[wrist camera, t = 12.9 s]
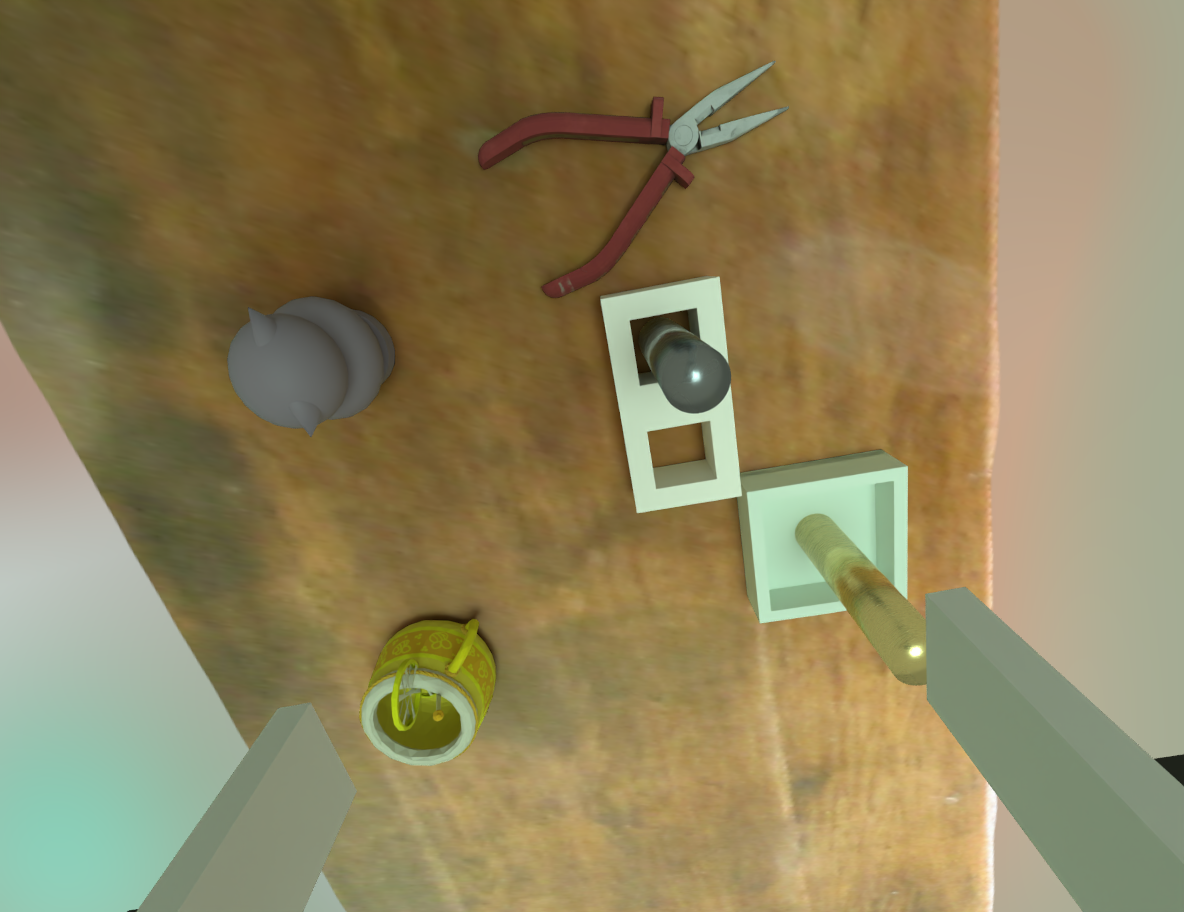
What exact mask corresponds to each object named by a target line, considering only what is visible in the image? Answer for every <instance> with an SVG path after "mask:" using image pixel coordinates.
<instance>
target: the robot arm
mask: <svg viewBox="0 0 1184 912" xmlns="http://www.w3.org/2000/svg"><path fill="white" fill-rule="evenodd" d="M925 595H926V669H927V700H928V702H929V703H930V704H931V706H932V707H933V708H934V710H935V711H936V713H937V714H938V715H939V717H940V718H941V719H942V721H943V722H944V723H945V725H946V726H947V728H948V729H949V730H950V732H951V733H952V734H953V736H954V737H955V738H956V740H957V741H958V743H959V744H960V745H961V747H962V748H963V749H964V751H965V752H966V753H967V755H968V756H969V757H970V759H971V760H972V762H973V763H974V764H975V766H976V767H977V768H978V770H979V771H980V772H981V774H982V775H983V777H984V778H985V779H986V781H987V782H988V783H989V785H990V786H991V787H992V789H993V790H994V791H995V793H996V794H997V796H998V797H999V798H1000V800H1001V801H1002V802H1003V804H1004V805H1005V806H1006V808H1007V809H1008V810H1009V812H1010V813H1011V815H1012V816H1013V817H1014V819H1015V820H1016V821H1017V823H1018V824H1019V825H1020V827H1021V828H1022V830H1023V831H1024V832H1025V834H1026V835H1027V836H1028V838H1029V839H1030V840H1031V842H1032V843H1033V844H1034V846H1035V847H1036V849H1037V850H1038V851H1039V853H1040V854H1041V855H1042V857H1043V858H1044V859H1045V861H1046V862H1047V864H1048V865H1049V866H1050V868H1051V869H1052V870H1053V872H1054V873H1055V874H1056V876H1057V877H1058V879H1059V880H1060V881H1061V883H1062V884H1063V885H1064V887H1065V888H1066V889H1067V891H1068V892H1069V894H1070V895H1071V896H1072V898H1073V899H1074V900H1075V902H1076V903H1077V904H1078V906H1079V907H1080V908H1081V910H1082V911H1083V912H1184V755H1177V756H1171V757H1164V758H1157V759H1153V758H1152V757H1151V756H1150V755H1149V754H1148V753H1147V752H1146V751H1144V750H1143V749H1142V748H1141V747H1140V746H1139V745H1138V744H1137V743H1136V742H1135V741H1134V740H1132V739H1131V738H1130V737H1129V736H1128V735H1127V734H1126V733H1125V732H1124V731H1122V730H1121V729H1120V728H1119V727H1118V726H1117V725H1116V724H1115V723H1114V722H1113V721H1112V720H1111V719H1109V718H1108V717H1107V716H1106V715H1105V714H1104V713H1103V712H1102V711H1101V710H1100V709H1098V708H1097V707H1096V706H1095V705H1094V704H1093V703H1092V702H1091V701H1090V700H1089V699H1088V698H1086V697H1085V696H1084V695H1083V694H1082V693H1081V692H1080V691H1079V690H1078V689H1077V688H1075V687H1074V686H1073V685H1072V684H1071V683H1070V682H1069V681H1068V680H1067V679H1066V678H1065V677H1063V676H1062V675H1061V674H1060V673H1059V672H1058V671H1057V670H1056V669H1055V668H1053V667H1052V666H1051V665H1050V664H1049V663H1048V662H1047V661H1046V660H1045V659H1044V658H1042V656H1040V655H1039V654H1038V653H1037V652H1036V651H1035V650H1034V649H1033V648H1032V647H1030V646H1029V645H1028V644H1027V643H1026V642H1025V641H1024V640H1023V639H1022V638H1021V637H1020V636H1019V635H1017V634H1016V633H1015V632H1014V631H1013V630H1012V629H1011V628H1010V627H1009V626H1008V625H1006V624H1005V623H1004V622H1003V621H1002V620H1001V619H1000V618H999V617H998V616H996V614H994V613H993V612H992V611H991V610H990V609H989V608H988V607H987V606H986V605H985V604H983V603H982V602H981V601H980V600H979V599H978V598H977V597H976V596H975V595H974V594H973V593H971V592H970V591H969V590H968V589H967V588H966V587H962V588H957V589H951V590H945V591H940V592H934V593H928V594H925ZM356 792H357V790H356V788H355V787H354V785H353V783H352V781H351V779H350V777H349V775H348V773H347V771H346V769H345V767H344V766H343V764H342V762H341V760H340V758H339V756H338V754H337V752H336V750H335V748H334V746H333V745H332V743H331V741H330V739H329V737H328V735H327V733H326V731H325V729H324V727H323V725H322V723H321V722H320V720H319V718H318V716H317V714H316V712H315V710H314V708H313V706H312V704H311V703H305V704H300V705H294V706H288V707H283V708H278V709H277V711H276V712H275V714H274V715H273V717H272V718H271V719H270V721H269V722H268V724H267V725H266V727H265V728H264V729H263V731H262V732H261V734H260V735H259V737H258V738H257V739H256V741H255V742H254V744H253V745H252V747H251V748H250V750H249V751H248V752H247V754H246V755H245V757H244V758H243V760H242V761H241V762H240V764H239V765H238V767H237V768H236V770H235V771H234V772H233V774H232V775H231V777H230V778H229V780H228V781H227V783H226V784H225V785H224V787H223V788H222V790H221V791H220V793H219V794H218V796H217V797H216V798H215V800H214V801H213V803H212V804H211V805H210V807H209V808H208V810H207V811H206V813H205V814H204V816H203V817H202V818H201V820H200V821H199V823H198V824H197V826H196V827H195V828H194V830H193V831H192V833H191V834H190V836H189V837H188V838H187V840H186V842H185V843H184V844H183V846H182V847H181V848H180V850H179V851H178V853H177V854H176V856H175V857H174V859H173V860H172V861H171V863H170V864H169V866H168V867H167V869H166V870H165V871H164V873H163V875H162V876H161V877H160V879H159V880H158V881H157V883H156V885H155V886H154V887H153V889H152V890H151V892H150V893H149V894H148V896H147V897H146V899H145V900H144V902H143V903H142V904H141V906H140V907H139V909H136V910H129V911H127V912H303V911H304V908H305V906H306V904H307V902H308V900H309V897H310V895H311V892H312V891H313V888H314V886H315V884H316V882H317V879H318V877H319V875H320V873H321V870H322V868H323V866H324V864H325V861H326V859H327V857H328V855H329V852H330V850H331V848H332V846H333V843H334V841H335V839H336V837H337V834H338V832H339V830H340V828H341V825H342V823H343V821H344V819H345V816H346V814H347V812H348V810H349V807H350V805H351V803H352V801H353V798H354V796H355V794H356Z"/></svg>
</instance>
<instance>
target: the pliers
mask: <svg viewBox="0 0 1184 912" xmlns="http://www.w3.org/2000/svg"><path fill="white" fill-rule="evenodd" d="M774 63H775V61H773V62H771V63H769V64H767V65H765V66H762V67H760V68H758V69H756V70H754V71H752V72H750V73H748V74H746V75H744V76H742V77H740V78H738V79H736V80H734V81H732V82H730V83H728V84H726V85H724V86H722V87H720V88H718V89H716V90H714V91H713V92H712V93H710V94H709V95H708V96H707V97H705V98H704V99H703V100H701V101H700V102H699V103H698V104H696V105H695V106H694V107H693V108H691V109H690V110H689V111H688V112H687V113H685V114H684V115H683V116H682V117H681V118H679V119H678V120H677V121H676V122H675V123H673V124H672V125H670V119H662V115H663V102H664V98H663V97H653V100H652V104H651V116H650V118H644V117H628V116H613V115H598V114H582V113H567V112H551V113H541V114H535V115H531V116H528V117H525V118H522V119H521V120H519V121H518V122H516V123H514V124H513V125H511V126H510V127H508V128H507V129H505V130H504V131H502V132H501V133H499V134H497V135H496V136H494V137H493V138H491V139H490V140H488V141H486V142H485V143H484V144H483V145H482V147H481V148H480V150H479V154H478V159H479V163H480V165H481V167H482V168H483V169H488V168H490V167H491V166H493V165H495V164H496V163H498V162H500V161H501V160H503V159H505V158H506V157H508V156H510V155H511V154H513V153H515V152H516V151H518V150H519V149H521V148H523V147H524V146H527V145H529V144H531V143H534V142H537V141H540V140H545V139H554V138H565V139H581V140H596V141H611V142H626V143H641V144H659V145H665V144H666V146H667V149H668V152H667V154H666V155H665V157H664V158H663V160H662V161H661V163H660V164H659V166H658V167H657V169H656V170H655V172H654V174H653V175H652V177H651V178H650V180H649V181H648V183H647V184H646V186H645V187H644V189H643V190H642V192H641V193H640V195H639V196H638V198H637V199H636V201H635V203H634V204H633V206H632V207H631V209H630V210H629V212H628V213H627V215H626V216H625V218H624V219H623V221H622V222H621V224H620V225H619V227H618V228H617V230H616V232H615V233H614V235H613V236H612V238H611V239H610V241H609V242H608V243H607V245H606V246H605V247H604V248H603V250H602V251H601V252H600V253H599V254H598V255H597V256H596V257H595V258H594V259H593V260H591V261H590V262H589V263H587V264H586V265H584V266H583V267H581V268H579V269H577V270H575V271H573V272H570V273H568V274H566V275H564V276H562V277H560V278H558V279H556V280H554V281H552V282H550V283H548V284H546V285H544V286H542V290H543V291H544V293H545V294H546V295H548V296H550V297H553V298H558V297H562V296H564V295H566V294H568V293H571V292H573V291H575V290H577V289H579V288H582V287H584V286H586V285H588V284H591V283H593V282H595V281H597V280H599V279H600V278H601V277H603V276H604V275H605V274H606V273H607V272H608V271H609V270H610V269H611V268H612V267H613V266H614V265H615V264H616V263H617V262H618V261H619V259H620V258H621V257H622V256H623V254H624V253H625V251H626V250H627V248H628V247H629V245H630V244H631V242H632V241H633V239H634V238H635V236H636V235H637V233H638V232H639V230H640V229H641V227H642V226H643V224H644V223H645V221H646V220H647V218H648V217H649V215H650V214H651V212H652V211H653V209H654V208H655V207H656V205H657V204H658V202H659V201H660V199H661V198H662V196H663V195H664V193H665V192H666V190H667V189H668V187H669V186H670V184H671V183H672V181H673V180H675V181H676V182H678V183H679V184H680V185H681V186H683V187H684V188H685V189H686V188H687V187H688V186H689V185H690V183H691V182H692V180H693V179H694V175H693V174H692V173H691V172H690V171H689V170H688V169H687V168H685V167H684V166H683V165H682V164H683V162H684V161H685V156H687V155H690V154H693V153H697V152H700V151H703V150H707V149H710V148H713V147H716V146H719V145H722V144H725V143H728V142H731V141H733V140H735V139H736V138H738V137H740V136H742V135H743V134H745V133H747V132H749V131H750V130H752V129H754V128H756V127H757V126H759V125H761V124H763V123H765V122H766V121H768V120H770V119H772V118H773V117H775V116H777V115H779V114H780V113H782V112H784V111H786V110H787V109H788V108H789V106H788V107H784V108H780V109H777V110H773V111H769V112H765V113H762V114H758V115H754V116H750V117H746V118H743V119H739V120H735V121H732V122H728V123H725V124H721V125H719V126H718V127H715V128H711V129H708V130H704V131H698V128H697V124H699V123H700V122H701V121H702V120H704V119H705V118H706V117H707V116H708V115H709V116H711V115H713V114H714V113H715V112H716V111H717V110H719V109H720V108H721V107H722V106H724V105H725V104H726V103H727V102H728V101H730V100H731V99H732V98H733V97H734V96H736V95H737V94H738V93H739V92H741V91H742V90H743V89H744V88H745V87H747V86H748V85H749V84H750V83H751V82H753V81H754V80H755V79H756V78H757V77H759V76H760V75H761V74H762V73H764V72H765V71H766V70H767V69H768V68H770V67H771V66H772V65H773V64H774Z"/></svg>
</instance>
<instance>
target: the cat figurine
mask: <svg viewBox="0 0 1184 912" xmlns="http://www.w3.org/2000/svg"><path fill="white" fill-rule="evenodd" d="M248 310H249V315H250V320H251V322H249V323H247V324H246V325H244V326H243V327H242V328H241V329H240V330H239V332H238V333H237V335H236V336H235V337H234V339H233V340H232V342H231V345H230V350H229V354H228V358H227V360H228V370H229V377H230V380H231V382H232V385H233V387H234V390H235V392H236V393H237V395H238V396H239V397H240V399H241V400H242V401H243V403H244V404H245V405H246V406H247V407H248V408H249V409H250V410H251V411H253V412H254V413H255V414H256V415H257V416H259V417H260V418H262V419H264V420H266V421H268V422H270V423H273V424H275V425H278V426H283V427H289V428H304V429H305V430H306V431H307V433H308V434H309V435H310V437H311V436H312V434H313V432H314V430H315V428H316V426H317V425H318V424H320V423H322V422H323V421H325V420H327V419H331V420H334V419H340V418H347V417H351V416H353V415H355V414H357V413H359V412H360V411H362V410H364V409H366V408H367V407H368V406H369V404H370V403H371V402H372V401H373V399H374V398H375V397H376V396H377V394H378V393H379V389H380V386H381V384H383V382H384V381H385V380H386V379H387V378H388V377H389V376H390V374H391V371H392V369H393V366H394V363H395V349H394V346H393V342H392V339H391V337H390V335H389V334H388V332H387V330H386V329H385V327H384V326H383V325H382V324H381V323H380V322H379V321H378V320H376V319H375V318H374V317H373V316H371V315H369V314H367V313H364V312H362V311H359V310H352V309H350V308H348V307H346V306H344V305H342V304H340V303H338V302H336V301H334V300H330V299H324V298H319V297H313V296H312V297H306V298H300V299H294V300H291V301H290V302H288V303H286V304H285V305H283V306H282V307H280V308H278V309H277V310H276V311H275V312H274V314H270V315H263V314H261V313H259V312H257V311H255V310H253V309H251V308H249V307H248Z"/></svg>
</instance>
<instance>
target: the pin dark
mask: <svg viewBox="0 0 1184 912" xmlns="http://www.w3.org/2000/svg"><path fill="white" fill-rule="evenodd" d="M638 342H639V347H640V350H641V352H642V354H643V355H644V357H645V359H646V361H647V363H648V365H649V367H650V369H651V371H652V372H653V374H654V376H655V378H656V380H657V382H658V384H659V386H660V388H661V389H662V391H663V393H664V395H665V397H666V399H667V400H668V402H669V403H670V404H671V405H672V406H674V407H675V408H676V409H678V410H680V411H682V412H686V413H691V414H697V413H703V412H706V411H709V410H711V409H713V408H714V407H716V406H717V405H718V404H719V403H720V402H721V401H722V400H723V399H724V398H725V396H726V394H727V392H728V390H729V387H730V383H731V372H730V367H729V365H728V363H727V361H726V359H725V358H724V356H723V355H722V354H721V353H719V352H718V351H717V350H715V349H714V348H712V347H711V346H710V345H708V344H707V343H705V342H704V341H702V340H701V339H699V338H698V337H696V336H695V335H694V334H692V333H691V332H689V331H688V330H686V329H685V328H683V327H682V326H680V325H679V324H678V323H676V322H675V321H673V320H672V319H669V318H666V317H657V318H653V319H651V320H649V321H648V322H647V323H646V324H645V325H644V326H643V327H642V329H641V331H640V333H639V338H638Z"/></svg>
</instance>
